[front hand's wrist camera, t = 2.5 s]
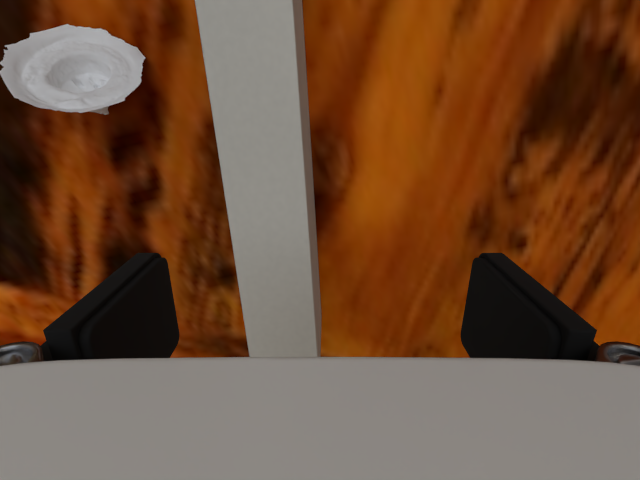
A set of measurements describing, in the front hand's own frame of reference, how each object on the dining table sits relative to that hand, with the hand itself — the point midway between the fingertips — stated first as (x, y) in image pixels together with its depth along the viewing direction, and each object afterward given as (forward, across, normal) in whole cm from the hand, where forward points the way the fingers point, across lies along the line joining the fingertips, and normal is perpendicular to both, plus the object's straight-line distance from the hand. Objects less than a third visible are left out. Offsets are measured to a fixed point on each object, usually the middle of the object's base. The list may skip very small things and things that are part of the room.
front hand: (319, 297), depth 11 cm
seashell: (+20, +16, -8) cm, 27 cm away
